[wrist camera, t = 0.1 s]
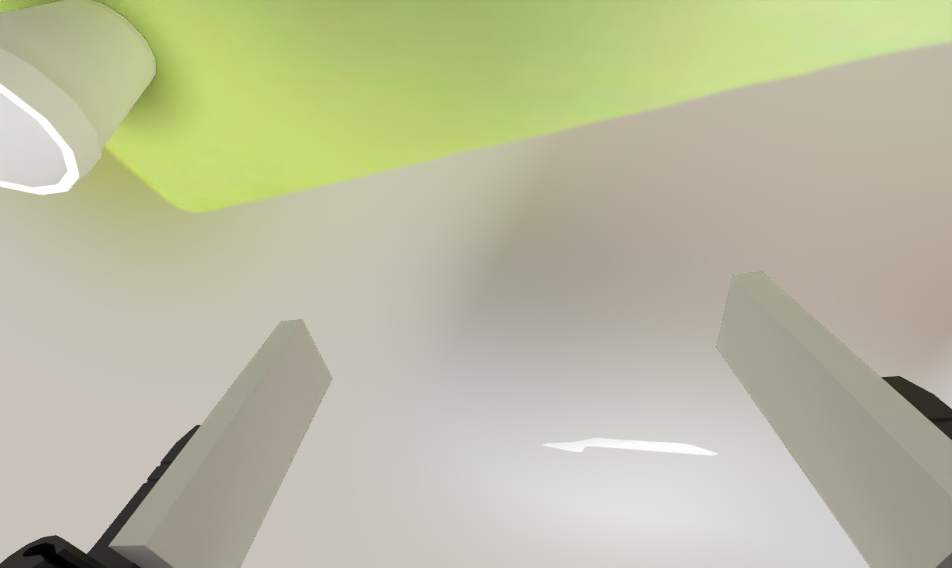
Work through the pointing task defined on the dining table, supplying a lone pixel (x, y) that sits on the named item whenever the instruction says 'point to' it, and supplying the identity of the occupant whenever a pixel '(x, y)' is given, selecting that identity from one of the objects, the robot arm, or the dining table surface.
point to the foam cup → (65, 90)
